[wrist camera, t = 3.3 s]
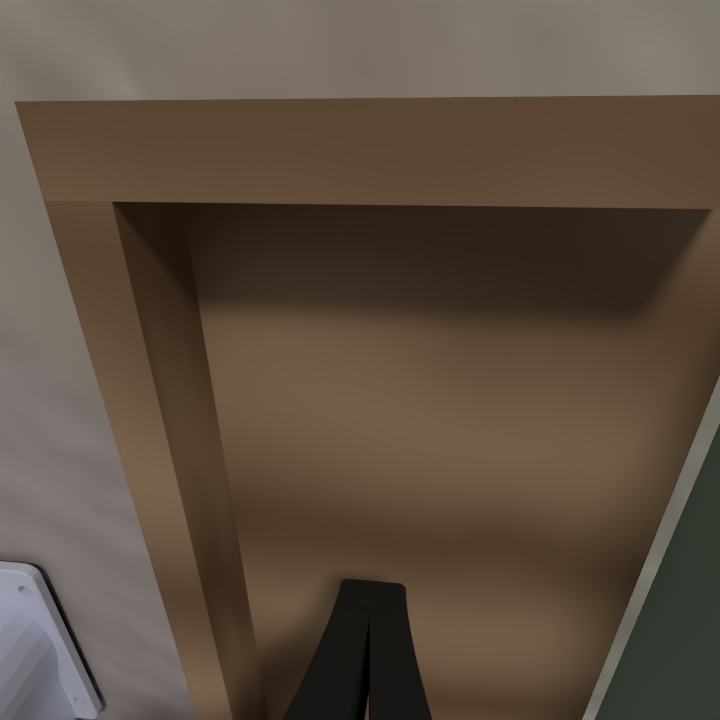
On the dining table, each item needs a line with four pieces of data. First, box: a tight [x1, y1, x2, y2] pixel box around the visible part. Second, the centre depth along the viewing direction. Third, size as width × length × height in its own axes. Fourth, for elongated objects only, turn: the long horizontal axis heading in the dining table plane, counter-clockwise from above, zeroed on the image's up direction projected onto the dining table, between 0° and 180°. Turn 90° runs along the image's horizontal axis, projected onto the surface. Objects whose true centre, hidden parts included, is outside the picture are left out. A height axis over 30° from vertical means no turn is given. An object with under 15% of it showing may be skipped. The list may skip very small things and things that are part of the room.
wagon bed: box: [15, 95, 720, 720], centre depth 11 cm, size 20×11×4 cm, turn 0°
